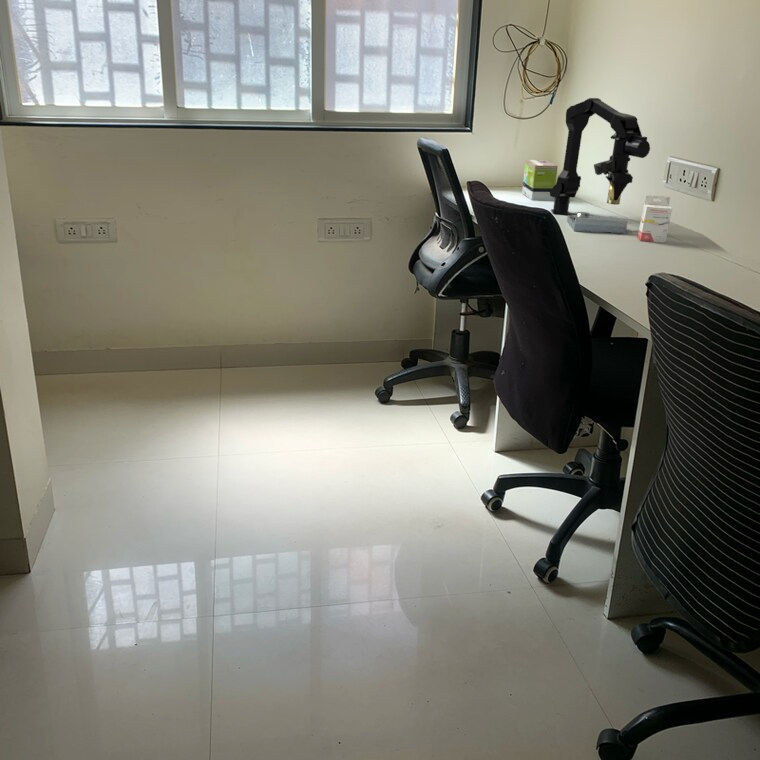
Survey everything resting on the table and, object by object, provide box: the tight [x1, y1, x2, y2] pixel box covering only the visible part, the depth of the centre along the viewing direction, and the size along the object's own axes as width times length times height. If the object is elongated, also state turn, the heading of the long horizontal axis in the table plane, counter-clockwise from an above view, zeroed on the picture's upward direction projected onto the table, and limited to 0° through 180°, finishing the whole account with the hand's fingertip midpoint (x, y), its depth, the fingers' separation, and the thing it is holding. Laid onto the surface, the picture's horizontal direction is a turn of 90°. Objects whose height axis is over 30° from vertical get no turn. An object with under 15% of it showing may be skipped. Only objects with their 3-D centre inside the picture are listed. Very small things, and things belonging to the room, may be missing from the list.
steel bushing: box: [576, 211, 591, 218], centre depth 280 cm, size 4×4×5 cm
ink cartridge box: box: [637, 194, 673, 243], centre depth 263 cm, size 9×5×15 cm, turn 84°
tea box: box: [521, 159, 558, 202], centre depth 330 cm, size 15×10×15 cm, turn 6°
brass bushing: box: [606, 182, 622, 205], centre depth 276 cm, size 4×4×7 cm
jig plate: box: [566, 214, 628, 234], centre depth 280 cm, size 16×18×4 cm
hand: (613, 199), depth 277 cm, fingers closed on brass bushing, 4 cm apart
